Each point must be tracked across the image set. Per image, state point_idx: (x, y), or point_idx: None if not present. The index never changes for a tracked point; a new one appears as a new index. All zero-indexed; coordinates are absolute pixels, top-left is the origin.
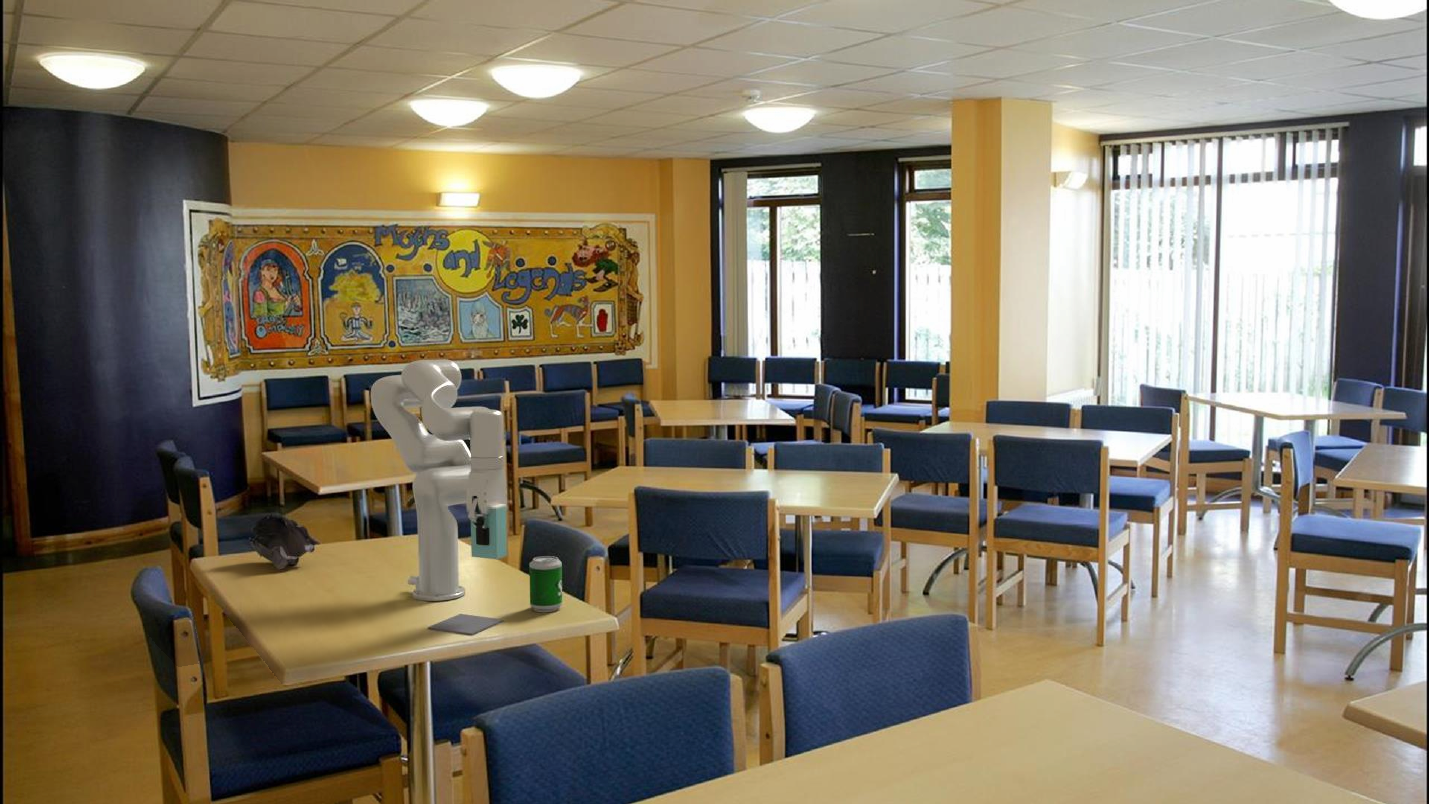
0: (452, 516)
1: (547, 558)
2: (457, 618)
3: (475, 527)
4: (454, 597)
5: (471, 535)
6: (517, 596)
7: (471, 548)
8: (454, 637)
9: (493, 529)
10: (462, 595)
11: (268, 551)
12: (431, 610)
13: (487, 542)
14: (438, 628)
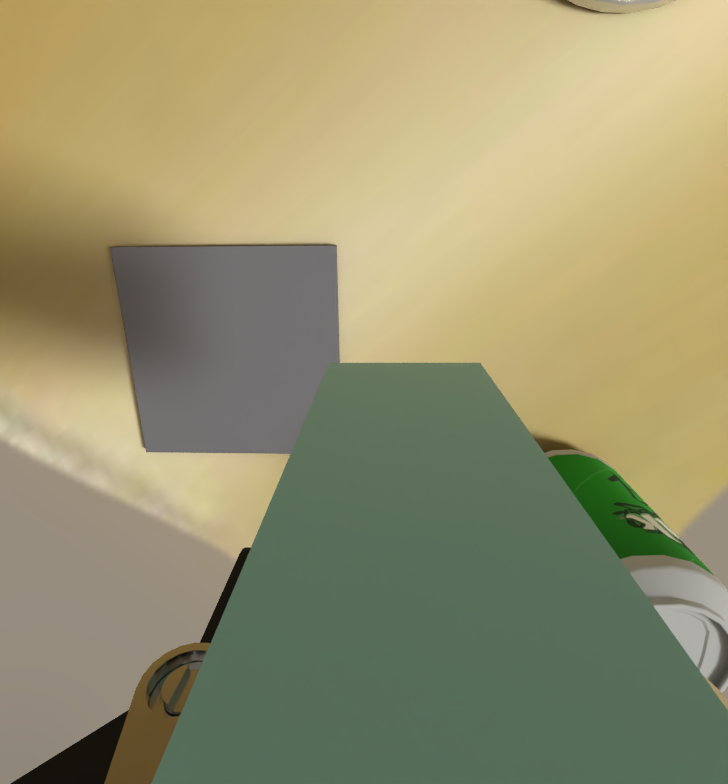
0: None
1: (705, 647)
2: (269, 281)
3: (176, 657)
4: (583, 3)
5: (294, 448)
6: (717, 287)
7: (319, 387)
8: (98, 408)
9: None
10: (649, 8)
11: None
12: (350, 43)
13: None
14: (121, 302)
